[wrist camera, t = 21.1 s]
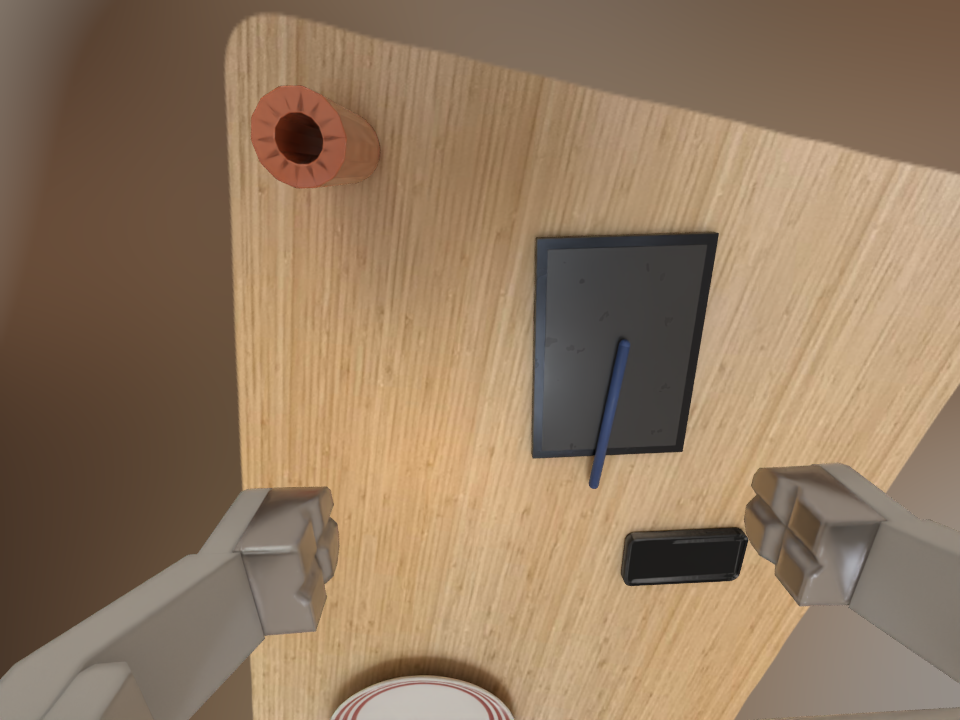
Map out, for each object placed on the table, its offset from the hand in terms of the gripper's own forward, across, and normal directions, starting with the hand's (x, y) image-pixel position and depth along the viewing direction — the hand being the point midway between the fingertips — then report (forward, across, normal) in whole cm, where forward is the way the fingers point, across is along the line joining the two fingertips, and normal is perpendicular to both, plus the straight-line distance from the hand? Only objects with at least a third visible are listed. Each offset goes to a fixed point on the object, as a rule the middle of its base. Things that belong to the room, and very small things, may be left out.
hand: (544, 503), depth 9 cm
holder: (+37, +11, -8) cm, 40 cm away
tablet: (+37, -14, +12) cm, 41 cm away
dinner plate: (+37, +10, +70) cm, 80 cm away
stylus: (+36, -13, +19) cm, 42 cm away
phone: (+37, -25, +40) cm, 60 cm away
